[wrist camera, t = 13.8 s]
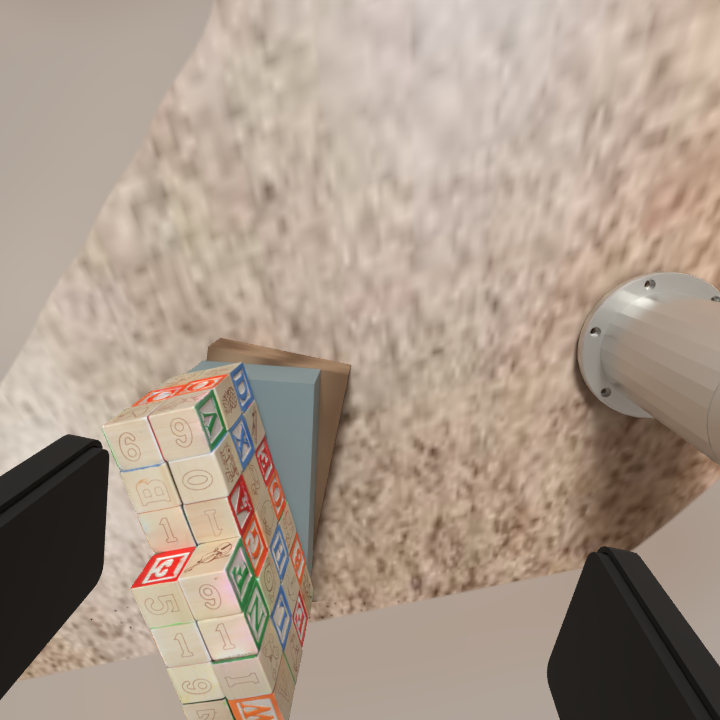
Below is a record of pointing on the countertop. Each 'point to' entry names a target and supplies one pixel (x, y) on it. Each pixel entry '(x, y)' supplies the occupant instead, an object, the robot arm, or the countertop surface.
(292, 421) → the tower top slab
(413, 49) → the countertop surface
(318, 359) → the tower base slab
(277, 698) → the stack of blocks
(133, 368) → the countertop surface
